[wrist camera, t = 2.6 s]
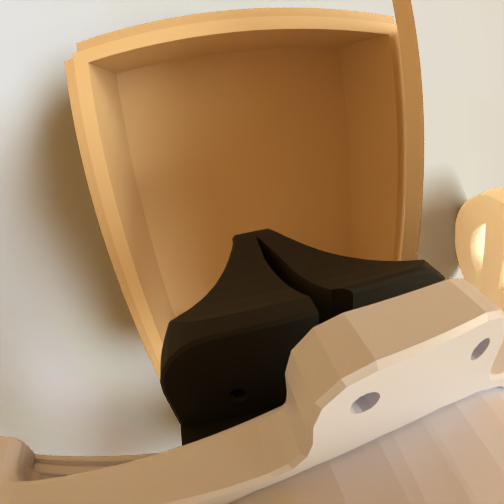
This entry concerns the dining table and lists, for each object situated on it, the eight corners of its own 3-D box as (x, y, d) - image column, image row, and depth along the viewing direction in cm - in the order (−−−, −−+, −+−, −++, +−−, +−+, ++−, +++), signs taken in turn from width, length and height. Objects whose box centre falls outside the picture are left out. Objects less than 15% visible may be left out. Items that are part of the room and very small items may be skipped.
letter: (456, 346, 33) (502, 399, 24) (443, 354, 32) (489, 410, 24) (469, 173, 22) (561, 216, 13) (453, 179, 22) (548, 226, 13)
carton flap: (394, 333, 19) (402, 334, 18) (369, 422, 13) (378, 424, 13) (404, 31, 11) (414, 32, 11) (389, -12, 6) (408, -12, 5)
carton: (351, 292, 25) (389, 340, 19) (167, 333, 23) (167, 395, 18) (341, 34, 16) (396, 17, 11) (99, 63, 14) (63, 48, 9)
